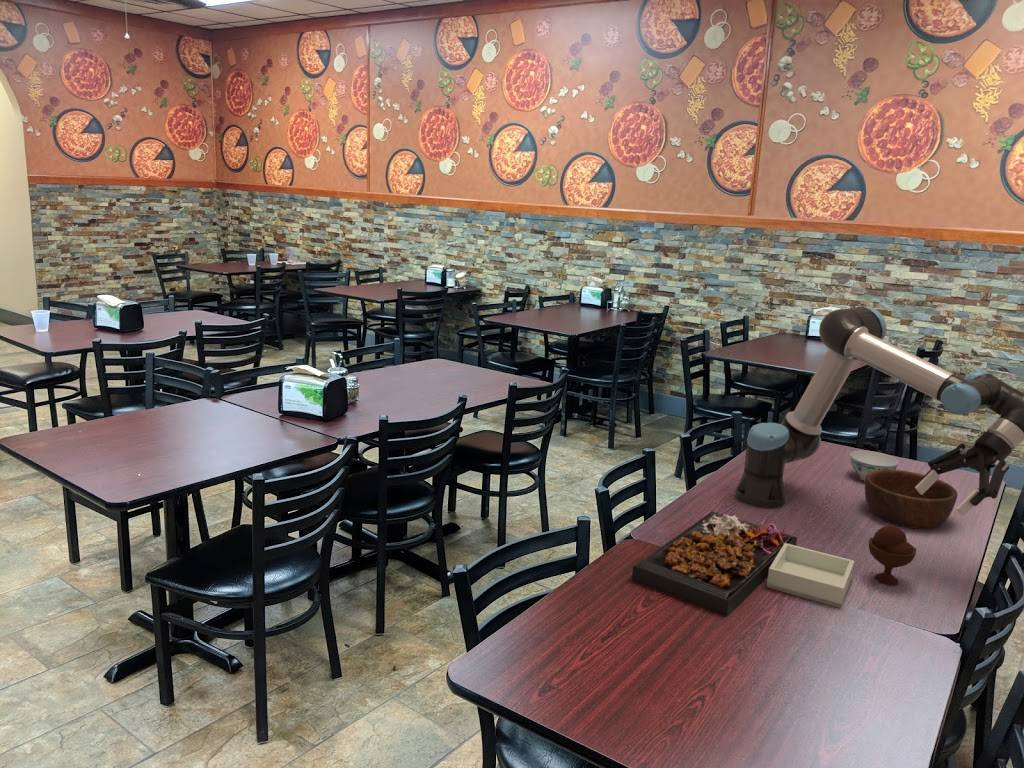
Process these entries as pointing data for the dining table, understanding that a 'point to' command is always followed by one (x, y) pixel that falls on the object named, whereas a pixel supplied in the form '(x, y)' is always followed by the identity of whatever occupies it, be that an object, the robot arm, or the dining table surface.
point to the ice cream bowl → (890, 552)
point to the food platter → (714, 562)
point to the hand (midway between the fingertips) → (938, 501)
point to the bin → (811, 574)
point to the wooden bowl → (908, 499)
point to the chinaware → (871, 462)
